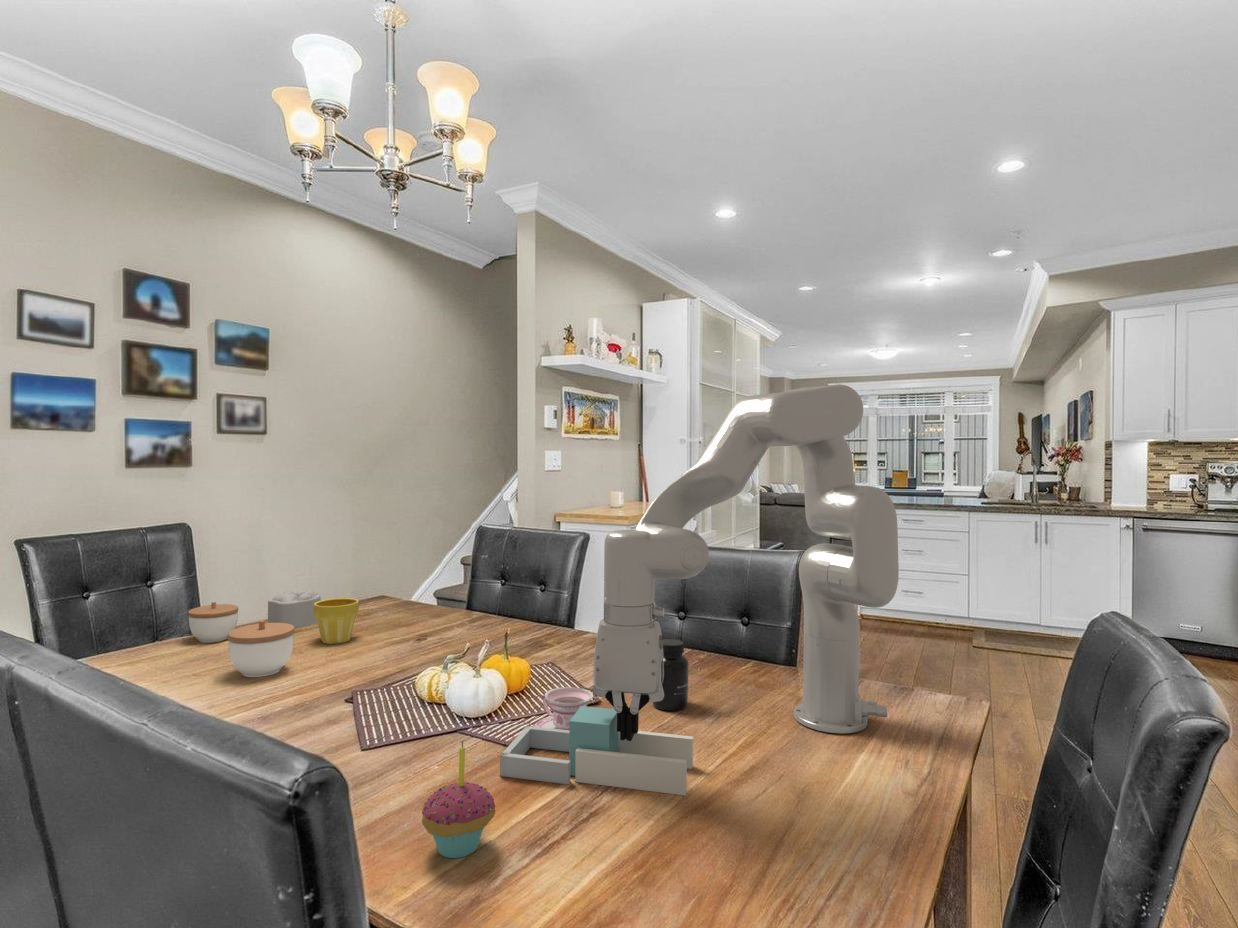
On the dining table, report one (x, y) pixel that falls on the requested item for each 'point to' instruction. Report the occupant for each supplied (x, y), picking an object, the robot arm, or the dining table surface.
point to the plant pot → (336, 619)
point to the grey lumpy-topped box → (293, 608)
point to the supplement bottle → (674, 677)
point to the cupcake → (458, 815)
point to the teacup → (563, 706)
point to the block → (592, 731)
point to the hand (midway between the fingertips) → (627, 736)
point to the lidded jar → (213, 622)
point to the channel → (639, 763)
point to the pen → (537, 767)
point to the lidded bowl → (261, 648)
